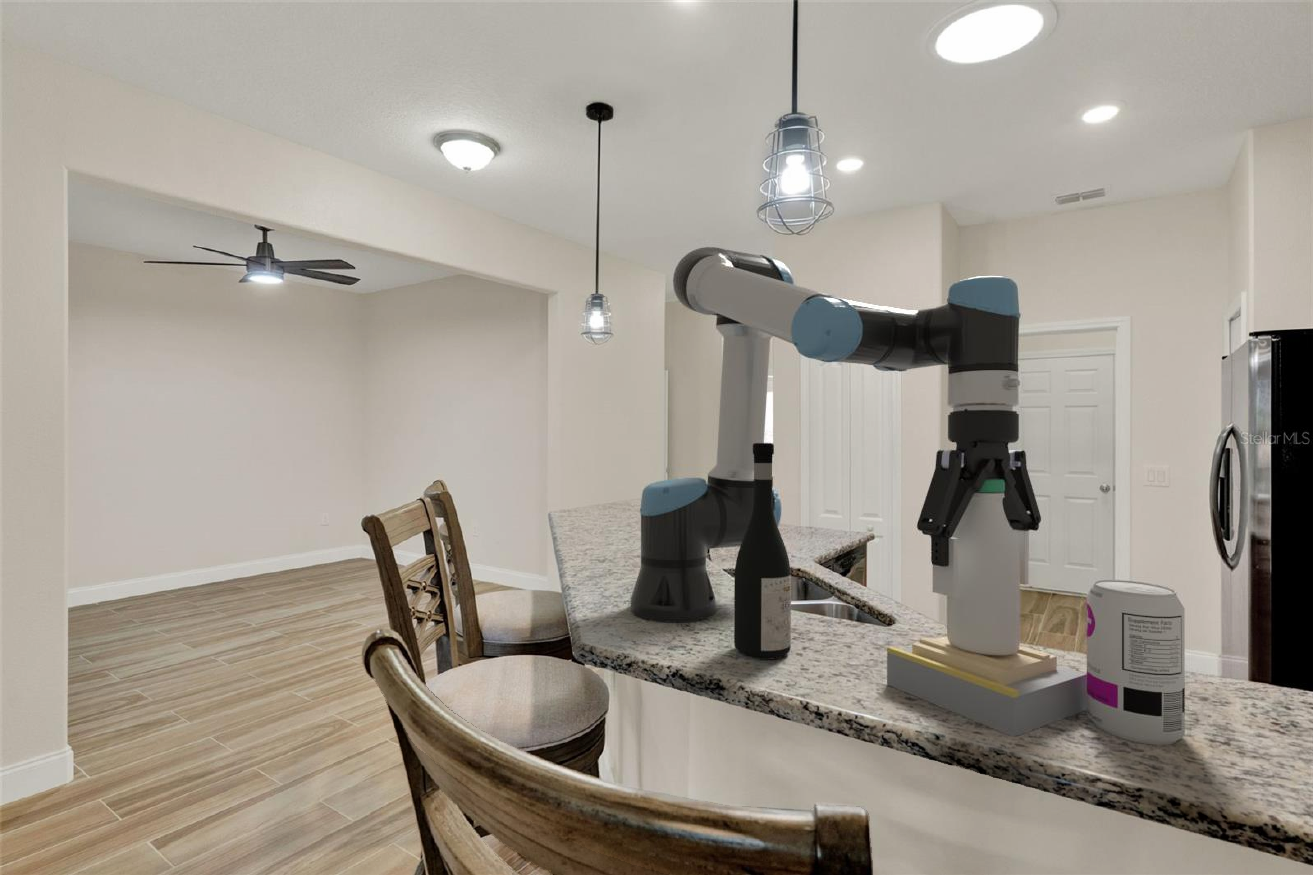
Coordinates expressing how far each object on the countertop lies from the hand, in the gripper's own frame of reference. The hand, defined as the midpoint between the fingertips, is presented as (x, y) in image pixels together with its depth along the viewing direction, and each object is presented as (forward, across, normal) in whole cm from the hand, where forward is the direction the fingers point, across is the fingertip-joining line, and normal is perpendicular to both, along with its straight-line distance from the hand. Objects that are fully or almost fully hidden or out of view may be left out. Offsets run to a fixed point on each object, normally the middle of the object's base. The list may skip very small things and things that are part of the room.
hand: (982, 588), depth 75 cm
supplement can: (+13, +6, -13) cm, 19 cm away
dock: (+13, 0, 0) cm, 13 cm away
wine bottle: (+13, -13, +25) cm, 31 cm away
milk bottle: (+7, 0, 0) cm, 7 cm away
